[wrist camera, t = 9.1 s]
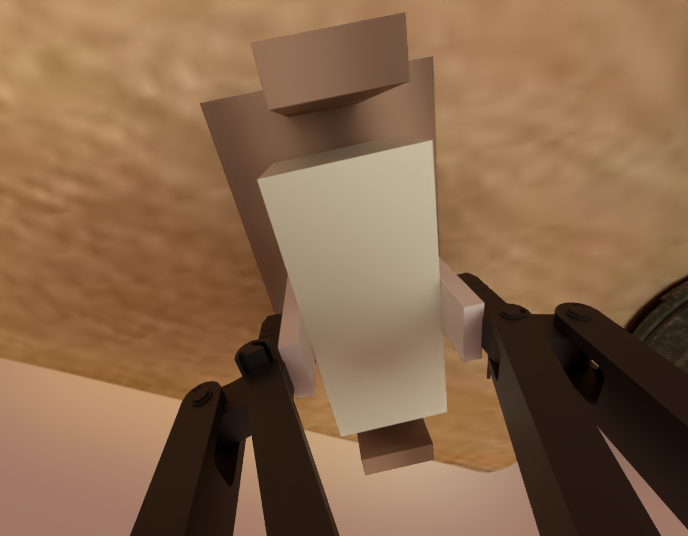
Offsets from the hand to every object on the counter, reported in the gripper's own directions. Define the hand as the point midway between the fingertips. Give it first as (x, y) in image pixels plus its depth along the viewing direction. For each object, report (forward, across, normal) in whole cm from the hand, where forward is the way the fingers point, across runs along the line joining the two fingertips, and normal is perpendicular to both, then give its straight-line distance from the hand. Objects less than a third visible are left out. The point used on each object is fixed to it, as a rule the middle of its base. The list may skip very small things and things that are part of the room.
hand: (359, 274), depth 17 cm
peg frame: (+5, 0, 0) cm, 5 cm away
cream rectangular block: (+1, 0, 0) cm, 1 cm away
